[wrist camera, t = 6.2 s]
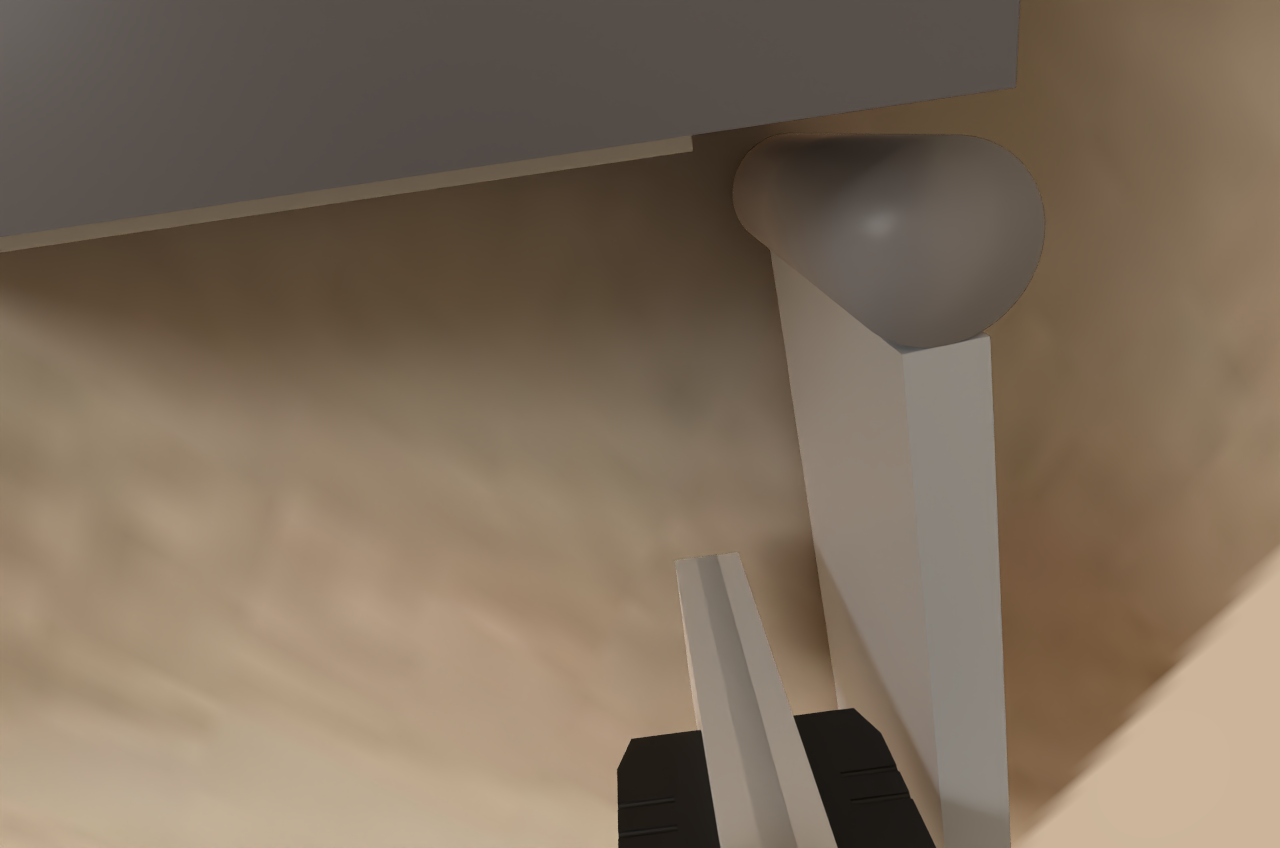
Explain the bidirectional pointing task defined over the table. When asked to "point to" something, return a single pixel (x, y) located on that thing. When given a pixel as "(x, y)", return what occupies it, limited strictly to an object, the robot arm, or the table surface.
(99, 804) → the table surface
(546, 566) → the table surface
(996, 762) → the side door
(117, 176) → the camera body
